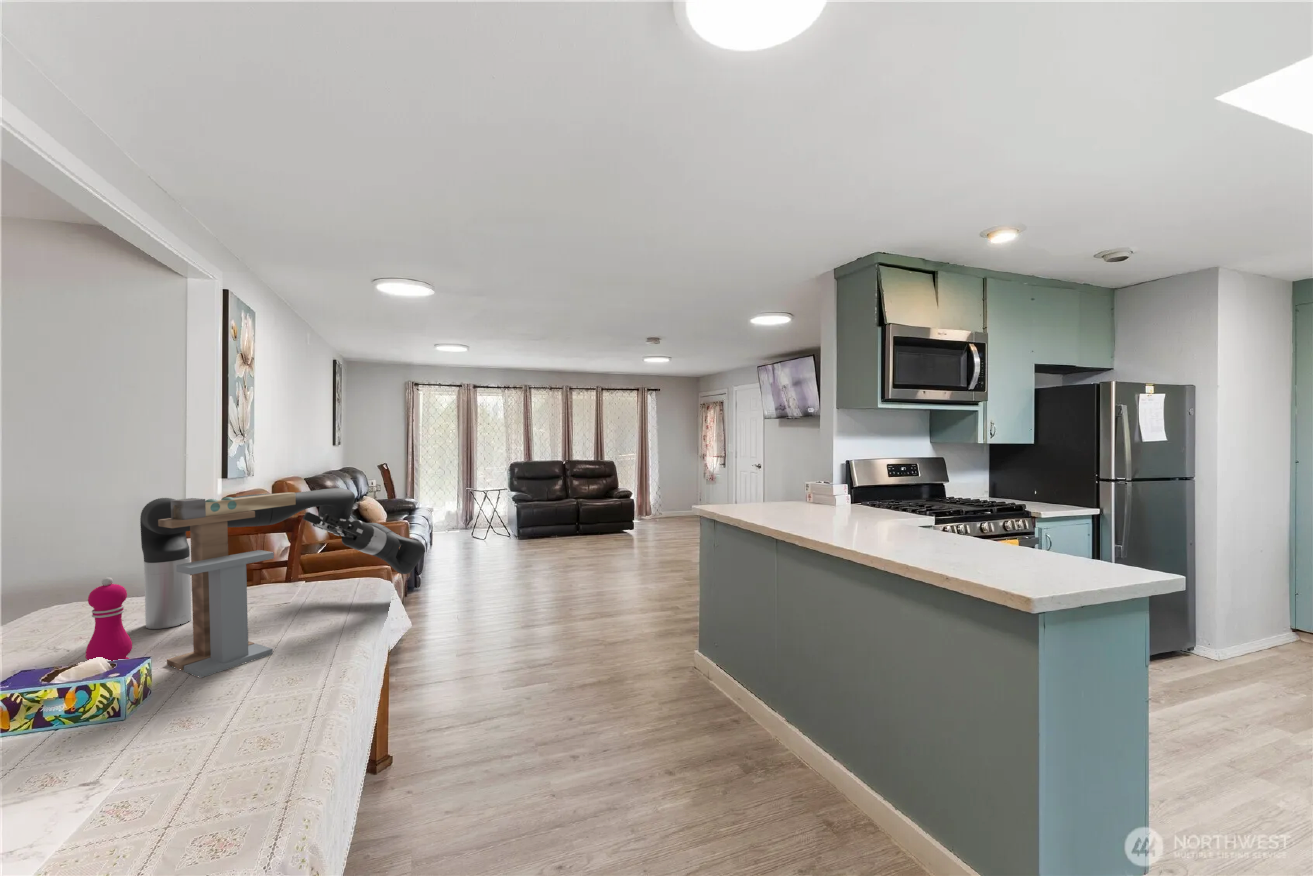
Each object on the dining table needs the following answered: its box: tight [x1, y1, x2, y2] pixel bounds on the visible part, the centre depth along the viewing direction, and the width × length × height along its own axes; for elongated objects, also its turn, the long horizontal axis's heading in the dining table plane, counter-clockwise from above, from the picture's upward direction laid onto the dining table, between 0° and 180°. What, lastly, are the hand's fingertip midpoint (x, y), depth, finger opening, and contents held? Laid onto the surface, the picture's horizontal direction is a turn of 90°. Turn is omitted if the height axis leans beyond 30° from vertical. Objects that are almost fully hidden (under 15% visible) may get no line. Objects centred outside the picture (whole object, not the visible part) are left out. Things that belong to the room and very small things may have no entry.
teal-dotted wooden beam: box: [171, 492, 296, 520], centre depth 134 cm, size 5×25×4 cm, turn 157°
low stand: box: [176, 549, 275, 679], centre depth 125 cm, size 7×16×23 cm, turn 152°
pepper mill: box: [85, 576, 133, 661], centre depth 121 cm, size 7×7×20 cm
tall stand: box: [158, 511, 255, 671], centre depth 128 cm, size 7×16×32 cm, turn 152°
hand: (314, 516), depth 149 cm, fingers open, 8 cm apart
